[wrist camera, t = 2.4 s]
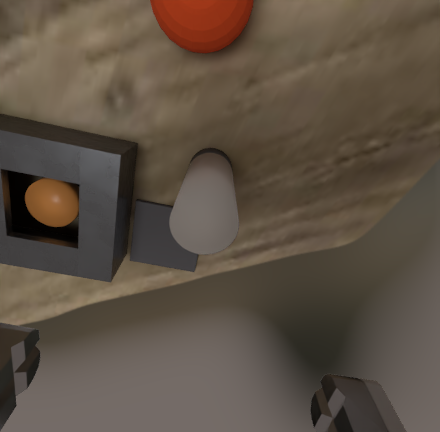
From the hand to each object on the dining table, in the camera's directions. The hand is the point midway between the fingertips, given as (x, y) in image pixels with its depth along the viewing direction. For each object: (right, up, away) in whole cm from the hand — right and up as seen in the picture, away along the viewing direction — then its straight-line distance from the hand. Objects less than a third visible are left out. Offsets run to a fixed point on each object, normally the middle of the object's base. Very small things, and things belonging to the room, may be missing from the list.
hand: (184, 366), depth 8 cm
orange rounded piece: (-14, +6, +19) cm, 24 cm away
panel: (-17, +7, +20) cm, 27 cm away
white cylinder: (0, +9, +19) cm, 21 cm away
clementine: (0, +21, +14) cm, 25 cm away
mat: (-4, +2, +22) cm, 23 cm away
